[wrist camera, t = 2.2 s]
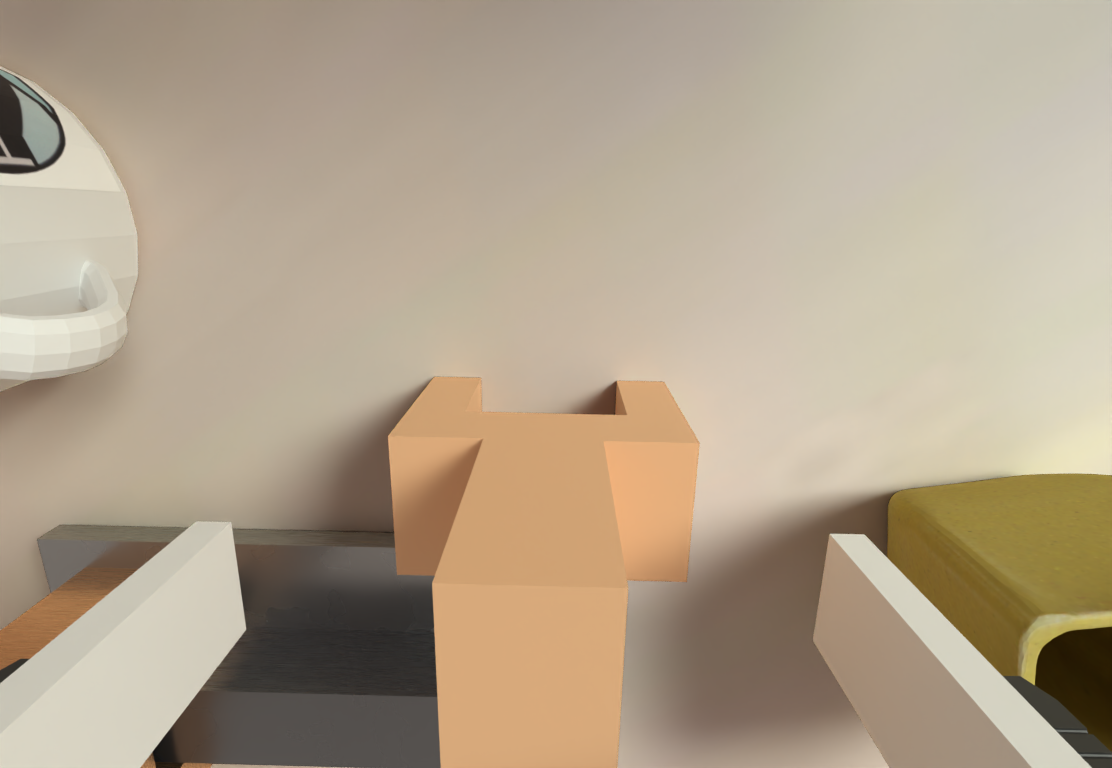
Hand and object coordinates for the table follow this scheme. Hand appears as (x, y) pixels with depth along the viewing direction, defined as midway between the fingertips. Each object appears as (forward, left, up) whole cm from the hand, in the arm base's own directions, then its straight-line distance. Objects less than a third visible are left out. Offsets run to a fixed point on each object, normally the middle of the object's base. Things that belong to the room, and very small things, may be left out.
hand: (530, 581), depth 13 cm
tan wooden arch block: (0, 0, -8) cm, 8 cm away
